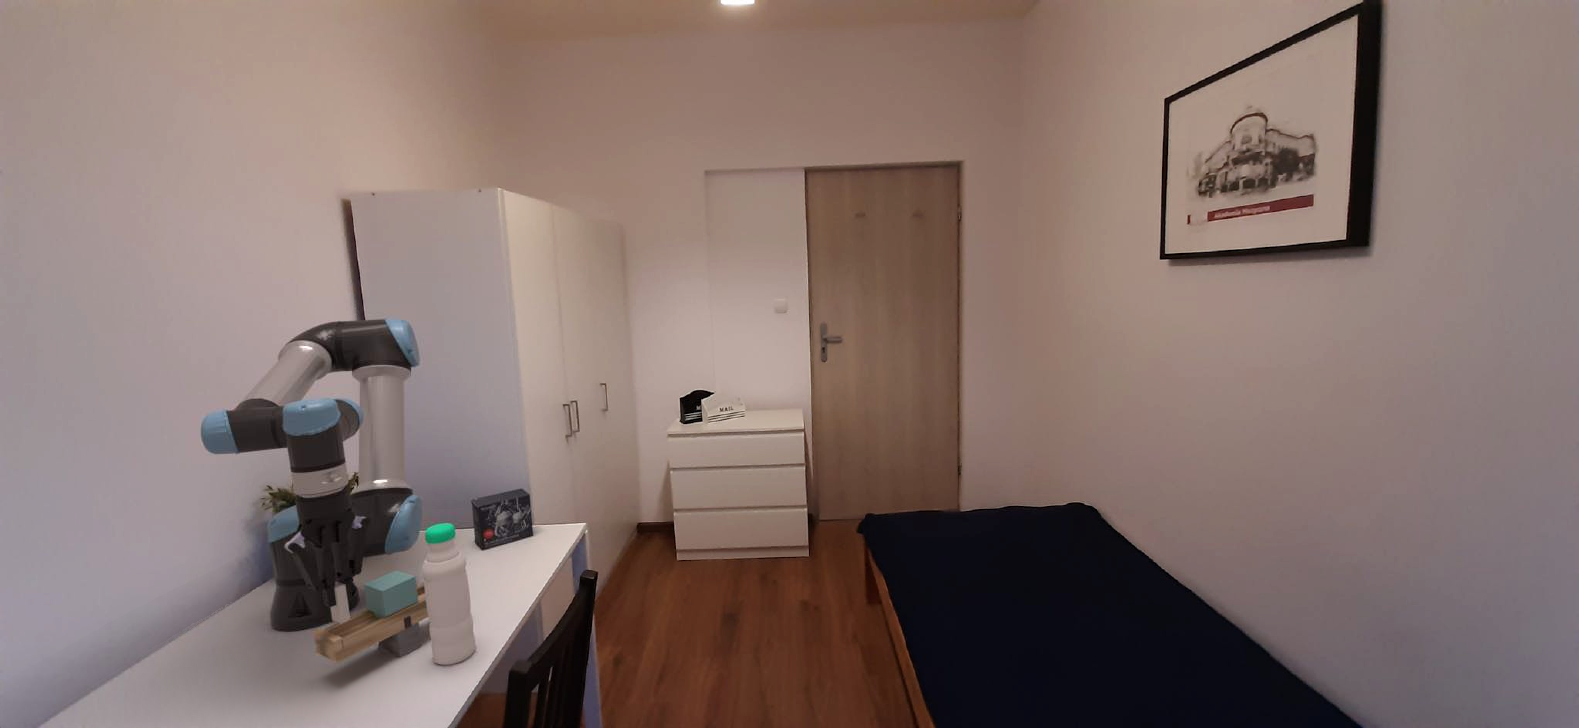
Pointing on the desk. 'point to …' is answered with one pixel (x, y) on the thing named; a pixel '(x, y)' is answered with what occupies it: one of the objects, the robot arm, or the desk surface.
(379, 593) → the block
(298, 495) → the robot arm
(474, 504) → the small box
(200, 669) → the desk surface
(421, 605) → the beam
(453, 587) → the white bottle
